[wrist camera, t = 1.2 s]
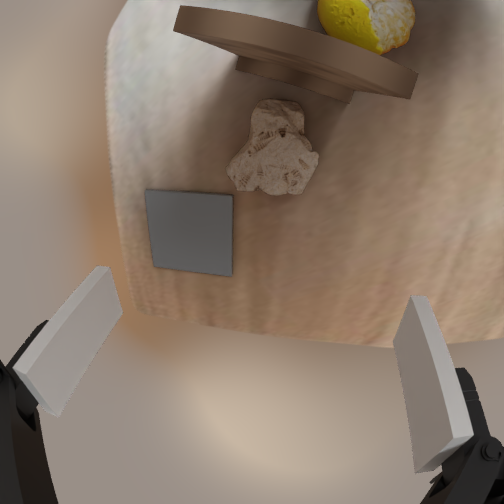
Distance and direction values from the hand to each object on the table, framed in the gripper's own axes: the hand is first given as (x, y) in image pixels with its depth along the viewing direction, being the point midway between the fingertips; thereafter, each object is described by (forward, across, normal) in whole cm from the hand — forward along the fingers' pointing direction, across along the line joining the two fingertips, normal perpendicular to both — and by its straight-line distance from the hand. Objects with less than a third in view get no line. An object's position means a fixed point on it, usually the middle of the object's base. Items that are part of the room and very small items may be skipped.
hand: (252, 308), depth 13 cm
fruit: (+27, +8, +18) cm, 34 cm away
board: (+27, +1, +11) cm, 29 cm away
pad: (+27, -13, -11) cm, 32 cm away
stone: (+27, -2, +1) cm, 27 cm away
